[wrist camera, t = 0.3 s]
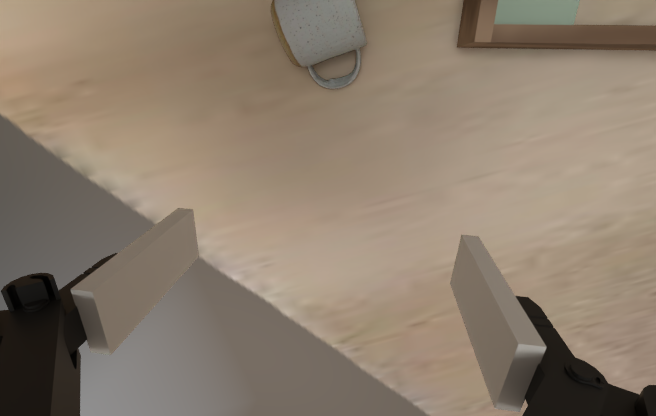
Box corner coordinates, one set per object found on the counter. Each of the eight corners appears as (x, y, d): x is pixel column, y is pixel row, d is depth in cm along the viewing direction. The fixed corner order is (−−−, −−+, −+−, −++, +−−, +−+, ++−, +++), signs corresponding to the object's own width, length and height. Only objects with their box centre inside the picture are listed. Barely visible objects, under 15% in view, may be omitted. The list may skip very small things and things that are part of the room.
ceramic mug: (276, 6, 37) (257, -10, 30) (345, -28, 35) (342, -53, 28) (312, 99, 41) (303, 105, 34) (377, 72, 39) (381, 72, 32)
